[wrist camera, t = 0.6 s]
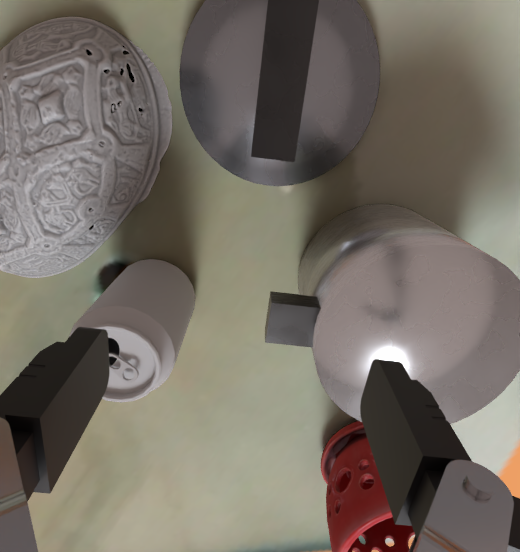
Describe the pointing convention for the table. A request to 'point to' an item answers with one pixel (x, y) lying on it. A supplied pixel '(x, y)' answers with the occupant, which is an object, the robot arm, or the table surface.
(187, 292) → the can
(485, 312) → the cooker
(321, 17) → the lid
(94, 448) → the table surface
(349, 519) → the plant pot
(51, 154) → the grey oval domed piece
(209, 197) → the table surface
